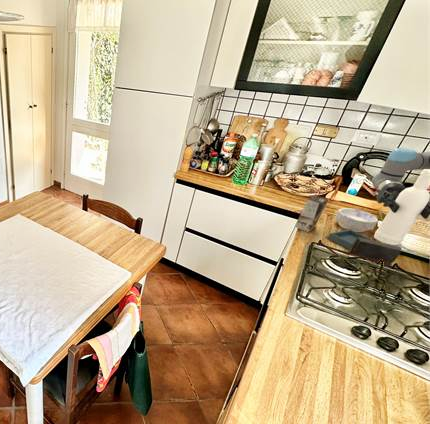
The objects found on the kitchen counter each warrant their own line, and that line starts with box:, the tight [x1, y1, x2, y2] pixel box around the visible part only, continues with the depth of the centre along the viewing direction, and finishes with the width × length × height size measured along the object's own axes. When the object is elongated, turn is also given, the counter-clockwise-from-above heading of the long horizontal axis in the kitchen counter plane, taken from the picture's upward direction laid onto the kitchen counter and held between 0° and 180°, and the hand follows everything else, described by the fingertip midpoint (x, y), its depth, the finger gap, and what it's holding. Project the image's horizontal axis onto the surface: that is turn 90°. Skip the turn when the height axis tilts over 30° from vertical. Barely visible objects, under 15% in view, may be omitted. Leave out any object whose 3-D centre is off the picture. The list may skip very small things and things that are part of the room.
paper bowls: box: [334, 207, 379, 233], centre depth 156 cm, size 15×15×8 cm
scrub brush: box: [347, 237, 402, 268], centre depth 132 cm, size 14×3×9 cm, turn 58°
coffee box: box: [294, 195, 329, 233], centre depth 154 cm, size 9×6×16 cm
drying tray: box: [327, 229, 375, 251], centre depth 144 cm, size 14×14×3 cm
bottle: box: [373, 169, 430, 246], centre depth 117 cm, size 8×8×30 cm
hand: (411, 212), depth 113 cm, fingers closed on bottle, 8 cm apart
